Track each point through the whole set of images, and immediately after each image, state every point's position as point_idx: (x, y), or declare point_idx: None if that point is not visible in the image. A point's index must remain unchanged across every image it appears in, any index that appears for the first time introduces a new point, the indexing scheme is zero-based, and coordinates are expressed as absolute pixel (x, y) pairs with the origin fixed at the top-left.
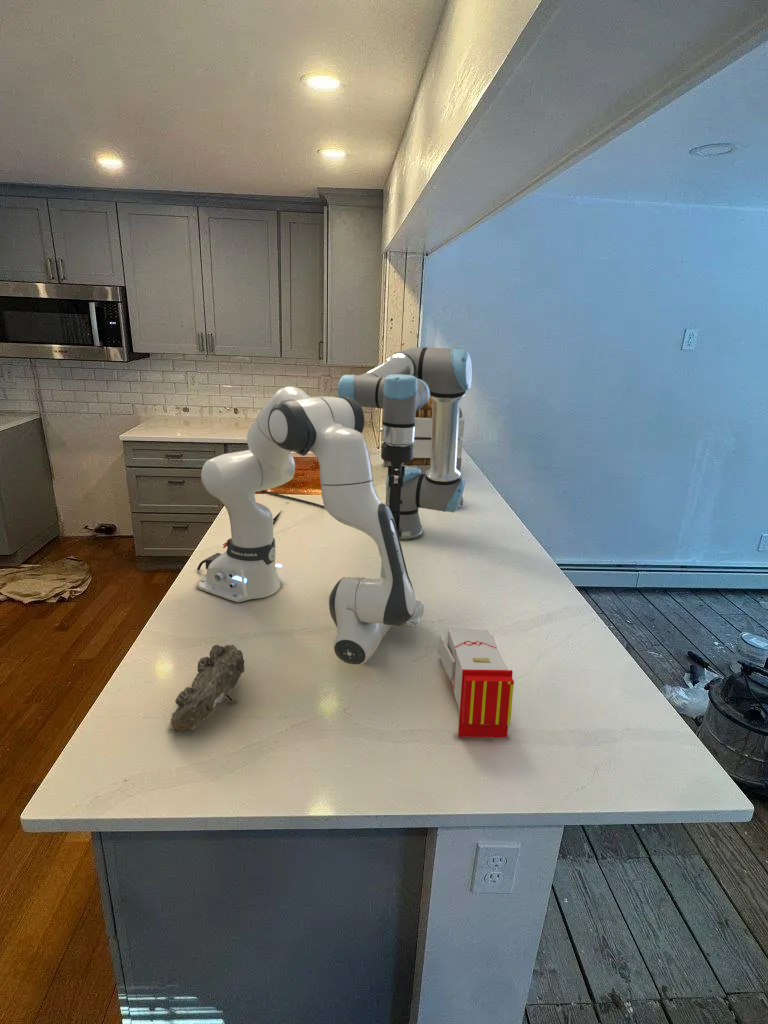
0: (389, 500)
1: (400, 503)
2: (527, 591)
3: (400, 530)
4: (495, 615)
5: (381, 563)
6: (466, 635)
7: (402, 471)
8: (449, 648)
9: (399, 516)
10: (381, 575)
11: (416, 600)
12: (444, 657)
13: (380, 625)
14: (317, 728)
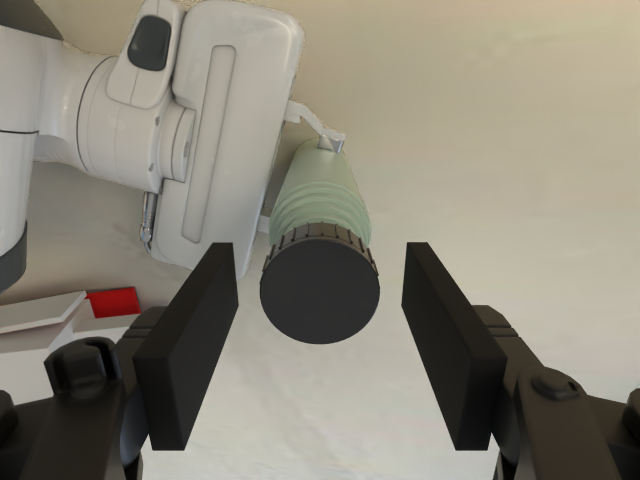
0: (547, 394)
1: (495, 470)
2: (449, 467)
3: (303, 337)
4: (339, 399)
5: (310, 170)
6: (19, 386)
7: None
8: (32, 329)
9: (155, 443)
10: (304, 162)
11: (242, 266)
12: (13, 312)
13: (55, 160)
14: None
